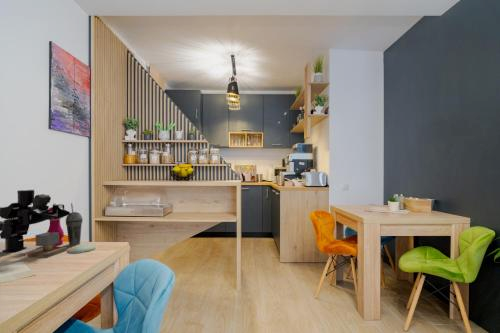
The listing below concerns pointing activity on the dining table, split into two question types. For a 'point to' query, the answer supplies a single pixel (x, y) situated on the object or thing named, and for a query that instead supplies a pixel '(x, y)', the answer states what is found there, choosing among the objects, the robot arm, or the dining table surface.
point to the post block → (47, 251)
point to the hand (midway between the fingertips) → (61, 214)
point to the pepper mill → (56, 228)
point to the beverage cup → (74, 227)
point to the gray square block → (47, 239)
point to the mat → (81, 249)
